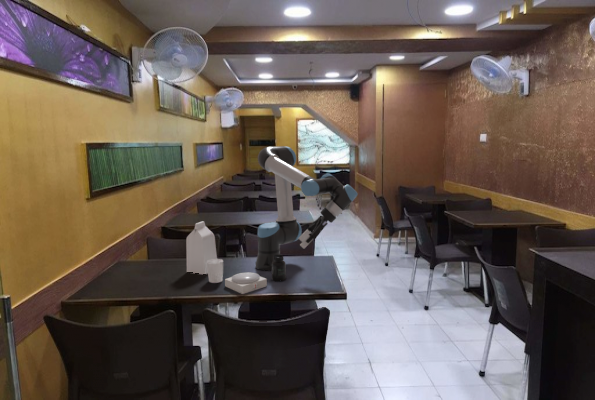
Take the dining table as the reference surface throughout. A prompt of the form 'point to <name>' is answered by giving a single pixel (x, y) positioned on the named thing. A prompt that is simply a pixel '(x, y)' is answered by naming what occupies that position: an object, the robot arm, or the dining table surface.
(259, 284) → the dial scale
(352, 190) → the robot arm
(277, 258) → the supplement bottle
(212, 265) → the white cup
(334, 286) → the dining table surface
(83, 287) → the dining table surface
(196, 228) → the milk
